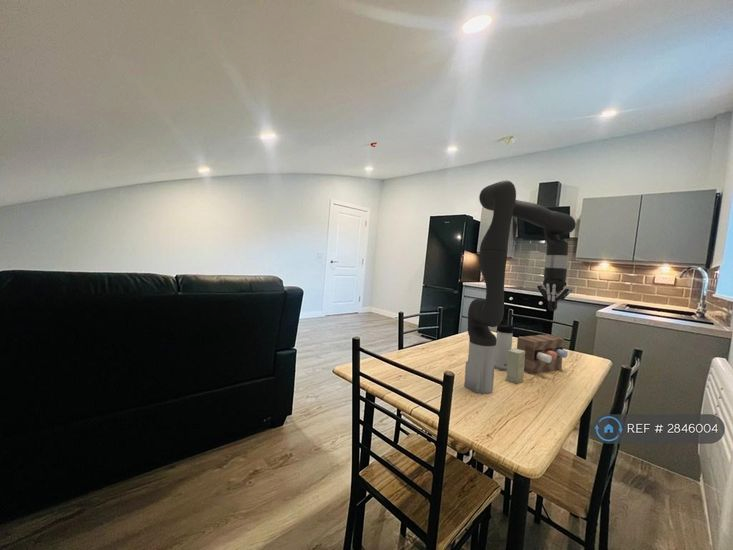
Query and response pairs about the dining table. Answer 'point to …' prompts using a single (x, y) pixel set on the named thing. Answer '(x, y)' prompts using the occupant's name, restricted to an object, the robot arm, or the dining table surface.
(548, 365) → the box
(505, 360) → the travel mug
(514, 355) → the skincare box
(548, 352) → the red key
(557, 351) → the blue key
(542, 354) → the white key
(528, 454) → the dining table surface
